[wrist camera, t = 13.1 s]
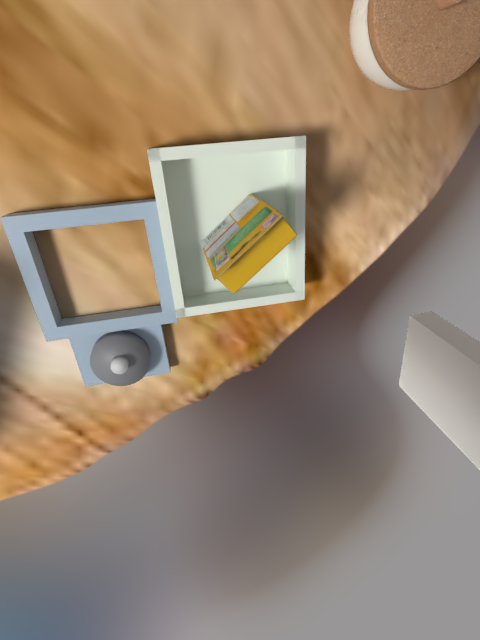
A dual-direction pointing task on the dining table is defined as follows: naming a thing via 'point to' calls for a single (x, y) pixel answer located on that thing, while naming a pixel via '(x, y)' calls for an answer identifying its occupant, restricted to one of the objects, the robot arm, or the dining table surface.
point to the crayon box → (245, 242)
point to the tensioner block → (105, 328)
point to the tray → (216, 204)
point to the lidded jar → (414, 41)
